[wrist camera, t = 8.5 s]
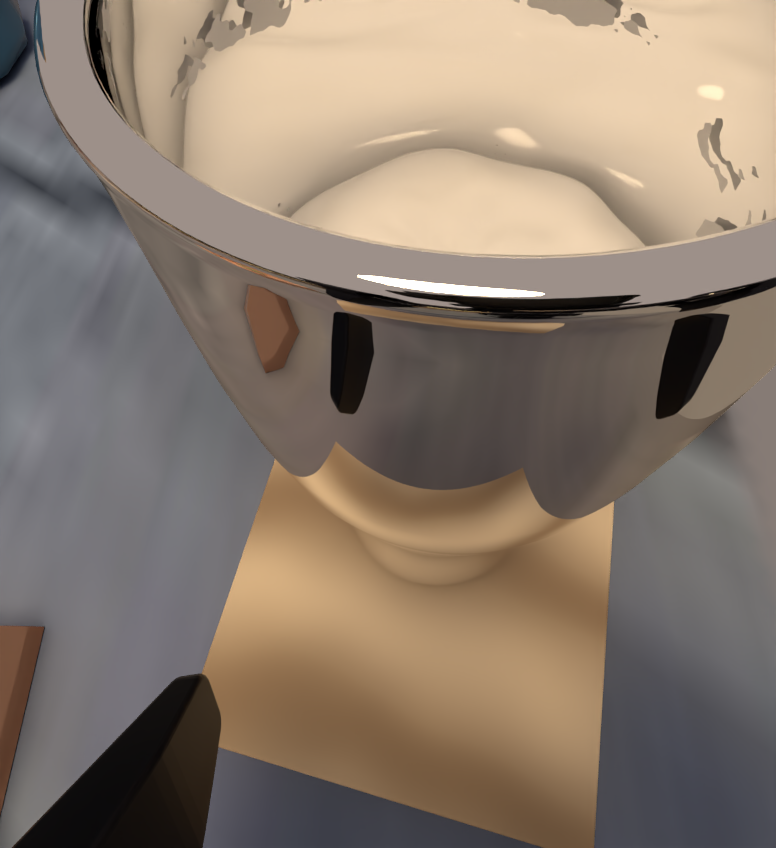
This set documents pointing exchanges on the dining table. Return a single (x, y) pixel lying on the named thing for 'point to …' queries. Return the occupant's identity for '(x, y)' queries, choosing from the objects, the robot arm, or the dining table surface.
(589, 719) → the oak board
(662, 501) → the dining table surface
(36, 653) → the terracotta dish
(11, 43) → the wine bottle
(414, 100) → the metal goblet
